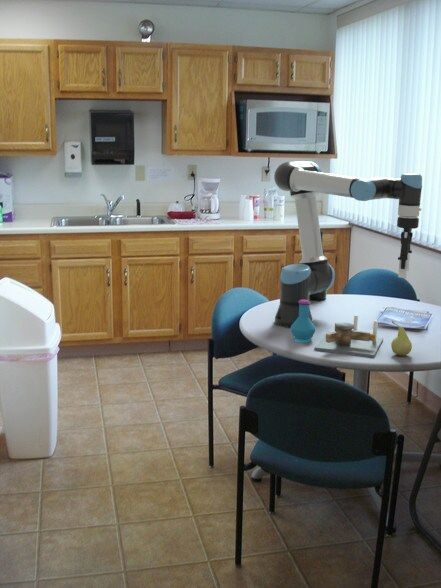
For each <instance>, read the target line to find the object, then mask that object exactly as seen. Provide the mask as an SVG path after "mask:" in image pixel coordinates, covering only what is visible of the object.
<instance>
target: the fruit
mask: <svg viewBox="0 0 441 588" xmlns="http://www.w3.org/2000/svg"><path fill="white" fill-rule="evenodd" d="M391 324H393V325H395V326H396V327H397V328H398V331H397V335H396V337H395V338H393V339H392V341H391V343H390V345H391V350H392V352H393V354H395V355H397V356H401V357H403V356H408V355H409V354H410V353H411V351H412V349H413V348H412V347H413V345H412V342H411V340H410V338H409V336H408V334H407V332H406V330H405V328H404V327H402V326H400V325H398V324H397V323H396V322H394V321H393V320H392V321H391Z"/></svg>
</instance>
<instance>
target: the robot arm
mask: <svg viewBox="0 0 441 588" xmlns="http://www.w3.org/2000/svg"><path fill="white" fill-rule="evenodd" d="M273 178H274V183H275V185H276V186H277V187H278V188H279V190H282V191H284V192H289V193H290V194H289V195H290V197H291V198H292V199H293V200H294V203H295V211H296V220H297V225H298V233H299V242H300V248H301V249H300V250H301V257H302V258H301V259H300V260H299V263H294V264H288V265H286V266H284V267H282V269H281V272H280V273H281V274H280V277H279V279H280V282H279V283H280V288H279V305H278V308H277V310H276V313H275V317H274V323H275V324H276V326H277V325H278V326H279V327H282V328H290V329H291V326H292V324H293V323H294V322H295V321H296V320H297V318H298V317H299V303H298V301H300V300H309V295H311V294H314V293H319V292H323V291H325V290H327V291H328V290H329V289H330V288H331V287H332V286H333V285H334V282H335V280H336V279H335V278H336V272H335V269H334V267H333V266H332V265H331V264H330V263H329V261H328V257H326V255H325V254H324V255H325V256H324V255H323V251H324V249H323V250H322V245H323V241H322V242H321V234H320V228H321V227H320V221H319V220H320V219H319V218H320V217H319V212H318V204H317V196H318V195H319V193H320V194H326V195H327V194H328V195H331V196H332V195H333V196H338V197H339V196H340V197H346V198H352V199H354V200H356V201H359V202H367V201H372V200H381V199H391V200H398V208H397V215H398V217H397V222H396V226H397V228H399V229H403V230H402V231H401V233H400V244H401V245H400V253H399V256H398V257H397V260H398V261H399V264H398V265H399V266H398V276H397V277H398V278H402V279H406V278H407V272H409V269H410V267H409V266H410V257H411V255H410V254H413V253H412V252H413V250H411V244H412V243H411V242H412V240H413V239H412V238H413V236H414V235H413V233H414V232H412V231H413V229H417V228H419V223H420V221H419V220H420V219H419V217H420V212H421V211H422V208H421V197H422V190H423V189H422V188H423V176H422V175H421V174H419V173H411V172H410V173H405V172H404V173H402V174H401V175H400V178H395V177H385V176H375V177H372V178H363V177H357V176H348V175H342V174H335V173H327V172H322V169H321V168H320V167H319V164H317V163H315V162H313V161H307V160H301V161H299V160H298V161H285V162H283V163H281V164H279V166H277V167H276V169H275V171H274V176H273ZM309 301H310V300H309ZM309 319H310V320H311V322H312V323H313V315H312V312H311V309H310V307H309Z"/></svg>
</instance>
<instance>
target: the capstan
mask: <svg viewBox="0 0 441 588" xmlns="http://www.w3.org/2000/svg"><path fill="white" fill-rule="evenodd" d="M353 329H354V323H351V322H335V323H334V331H330V332H331V333H327V332H326V333H327V334H326V333H325V334H326V342H327V343H330V342H334V341H337V344H339V345H350V344H351V339H353V340H361V341H370V340H372V341H373V340H375V335H374V334H373V333H371V332H370V331H361V330H357V331H355V330H353Z"/></svg>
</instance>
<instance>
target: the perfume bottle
mask: <svg viewBox="0 0 441 588" xmlns="http://www.w3.org/2000/svg"><path fill="white" fill-rule="evenodd" d="M311 302H312V301H311V300H300V301H298V303H299V317H298V318H297V320H296V321H295V322H294V323H293V324H292V326H291V328H290V330H291V334H292V337H294V338H293V340H294V341H295V342H299V343H309V341H310V342H312V338H313V337H314V334H315V332H316V328H317V327H316V326H315V324H314V323H313V321H312V322H311V320H310V319H309V308H310V304H312V303H311Z"/></svg>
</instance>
